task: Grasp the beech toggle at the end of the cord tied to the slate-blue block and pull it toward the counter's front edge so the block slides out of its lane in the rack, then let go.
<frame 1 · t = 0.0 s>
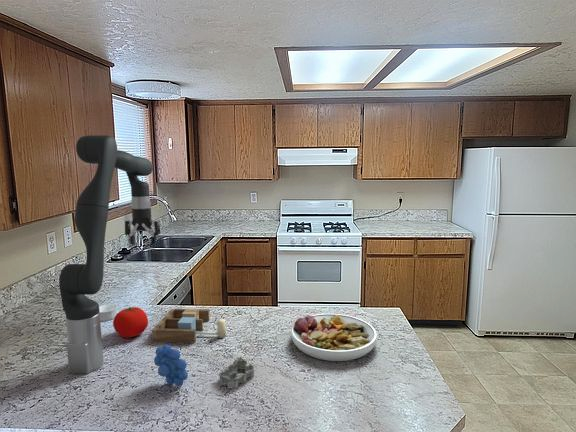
hand: (143, 244, 161), 29 cm above the worktop, fingers open, 8 cm apart
grapes: (169, 386, 110), on the worktop
lane rack: (184, 330, 146), on the worktop
plain oak block: (191, 325, 150), resting in lane rack
bowl: (333, 344, 136), on the worktop
egg carton: (237, 379, 114), on the worktop
tomato: (132, 335, 142), on the worktop
ramekin: (106, 318, 158), on the worktop
tethered block: (202, 327, 140), point 3 cm above the worktop, slide at 0.0 cm
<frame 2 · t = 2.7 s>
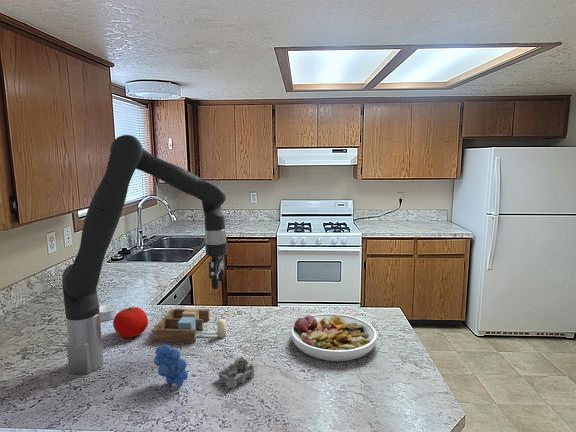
hand: (218, 284, 139), 20 cm above the worktop, fingers open, 8 cm apart
nothing on the worktop moved.
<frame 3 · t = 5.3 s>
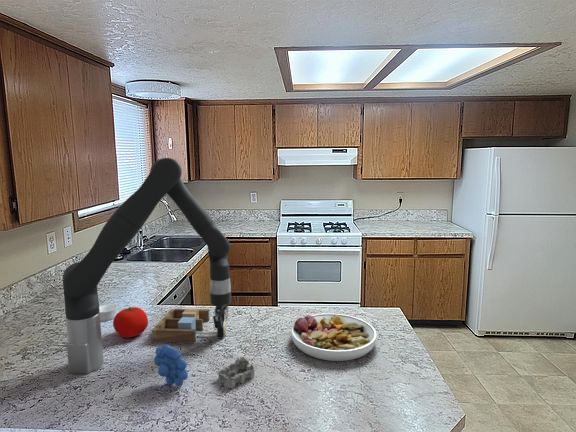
hand: (221, 334, 140), 1 cm above the worktop, fingers closed on tethered block, 3 cm apart
tethered block: (202, 327, 140), point 3 cm above the worktop, slide at 0.0 cm, touching gripper
everything else where it was.
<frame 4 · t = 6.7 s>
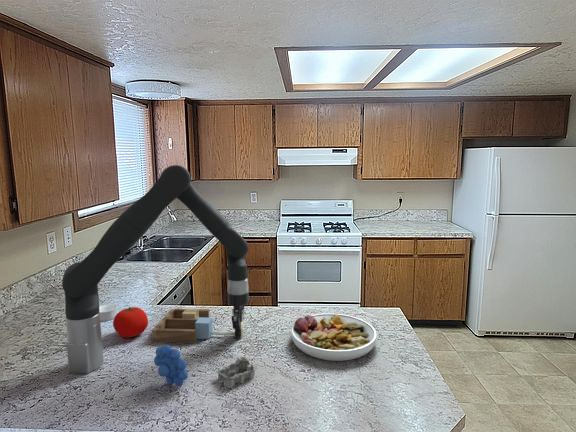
hand: (239, 335, 140), 1 cm above the worktop, fingers closed on tethered block, 3 cm apart
tethered block: (220, 328, 140), point 3 cm above the worktop, slide at 6.5 cm, touching gripper
everything else where it was.
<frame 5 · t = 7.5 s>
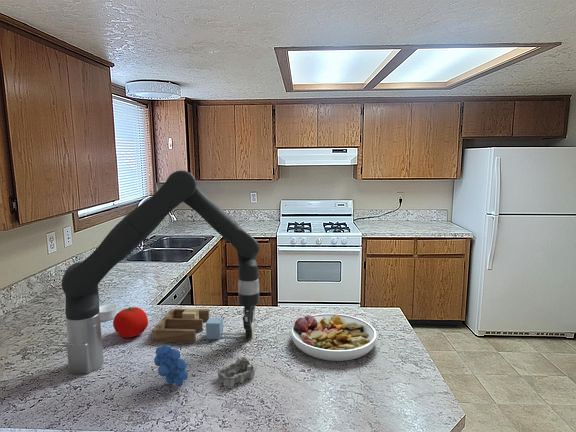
hand: (249, 335, 140), 1 cm above the worktop, fingers closed on tethered block, 3 cm apart
tethered block: (230, 328, 140), point 3 cm above the worktop, slide at 10.4 cm, touching gripper
everything else where it was.
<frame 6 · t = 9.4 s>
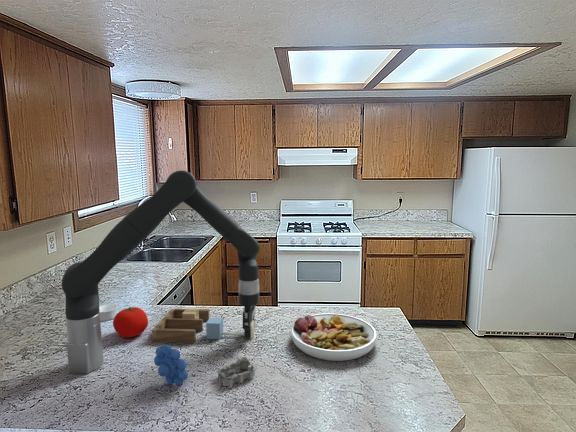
hand: (249, 332, 139), 2 cm above the worktop, fingers open, 8 cm apart
tethered block: (230, 328, 140), point 3 cm above the worktop, slide at 10.5 cm
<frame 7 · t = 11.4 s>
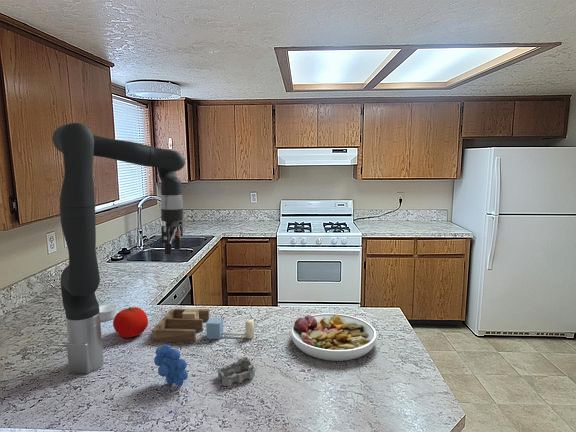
hand: (173, 251, 138), 32 cm above the worktop, fingers open, 8 cm apart
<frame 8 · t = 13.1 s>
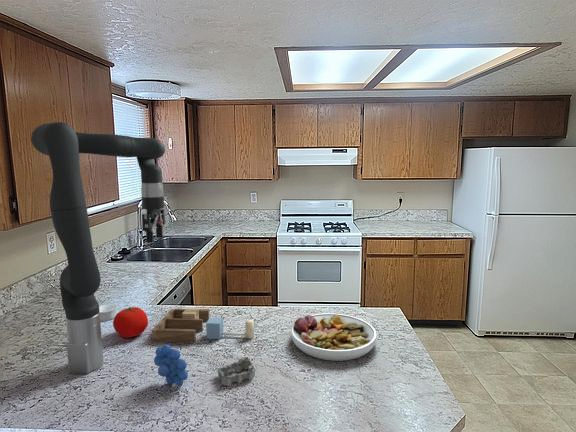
hand: (155, 239, 138), 36 cm above the worktop, fingers open, 8 cm apart
at the end: tethered block slide at 10.5 cm; tethered block inside the target area (1.0 cm from its centre), on the worktop; the gripper is holding nothing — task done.
